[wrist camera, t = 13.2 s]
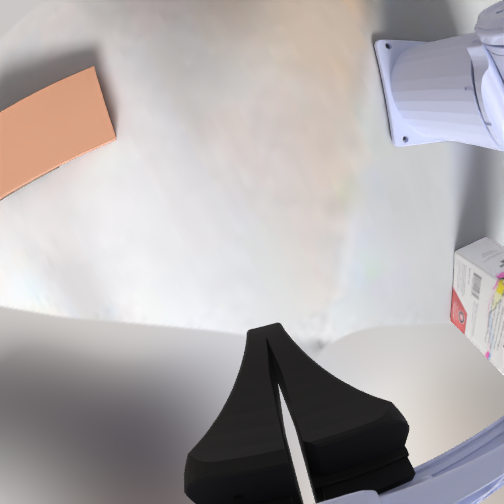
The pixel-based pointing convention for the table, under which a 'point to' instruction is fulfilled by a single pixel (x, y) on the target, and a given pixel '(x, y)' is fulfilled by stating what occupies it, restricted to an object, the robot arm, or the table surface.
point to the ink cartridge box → (480, 297)
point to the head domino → (52, 129)
